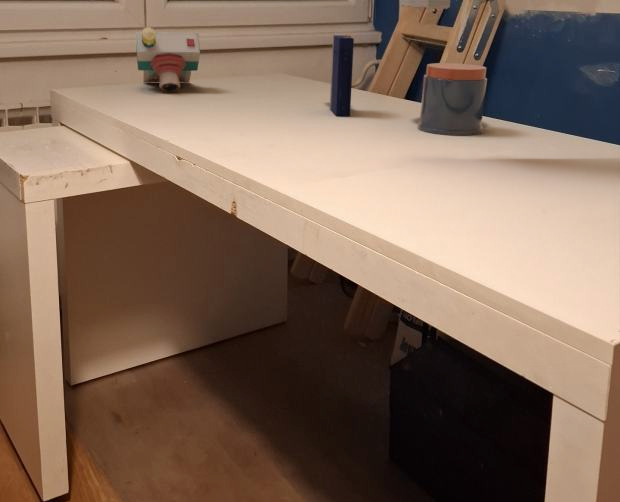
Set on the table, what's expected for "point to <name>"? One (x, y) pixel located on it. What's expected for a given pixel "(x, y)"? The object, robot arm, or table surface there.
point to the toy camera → (167, 57)
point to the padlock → (425, 3)
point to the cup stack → (453, 99)
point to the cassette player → (341, 75)
